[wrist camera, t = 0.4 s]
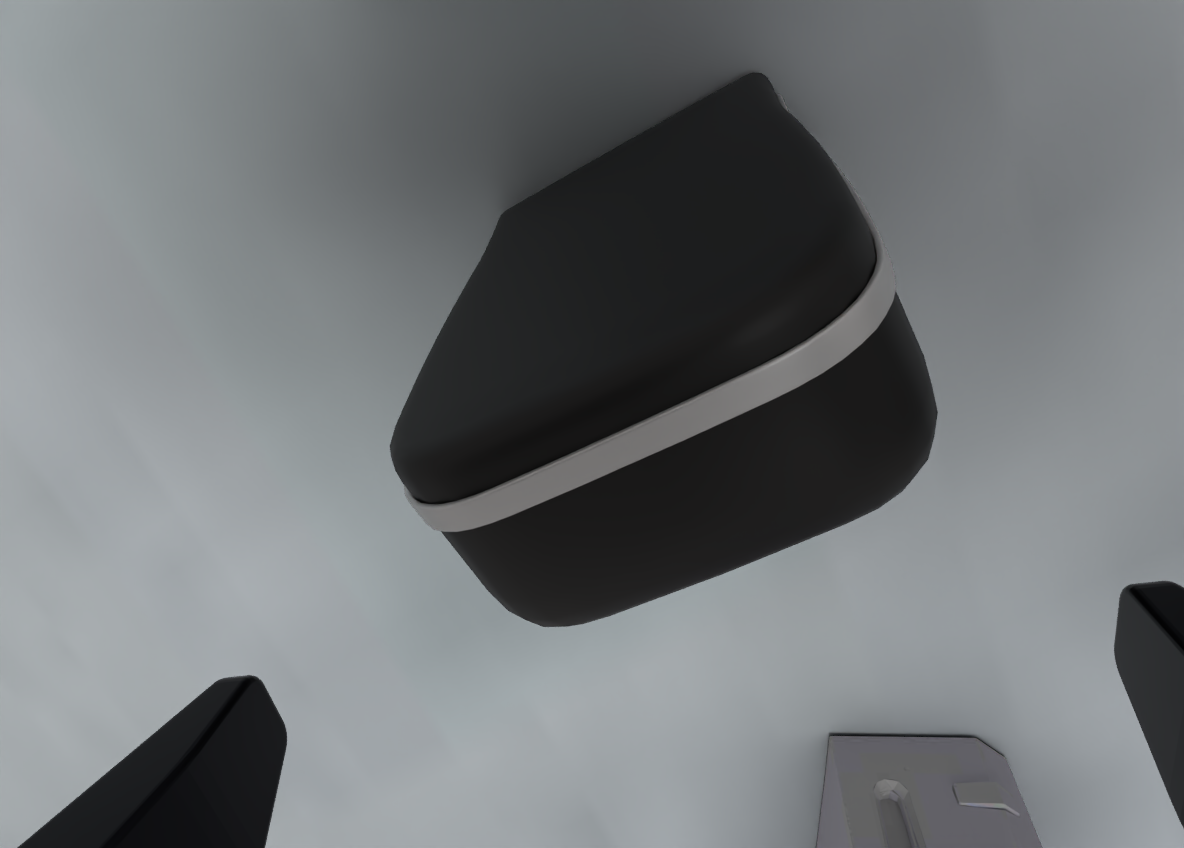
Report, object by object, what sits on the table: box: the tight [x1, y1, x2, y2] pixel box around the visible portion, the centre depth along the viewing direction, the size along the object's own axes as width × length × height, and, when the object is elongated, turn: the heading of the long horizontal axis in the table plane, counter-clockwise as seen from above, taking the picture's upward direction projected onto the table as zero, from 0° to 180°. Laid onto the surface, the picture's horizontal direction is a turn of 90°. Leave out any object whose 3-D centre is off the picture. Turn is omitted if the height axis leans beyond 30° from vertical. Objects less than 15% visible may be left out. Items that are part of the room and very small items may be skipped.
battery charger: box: [390, 73, 938, 627], centre depth 15 cm, size 7×4×11 cm, turn 120°
